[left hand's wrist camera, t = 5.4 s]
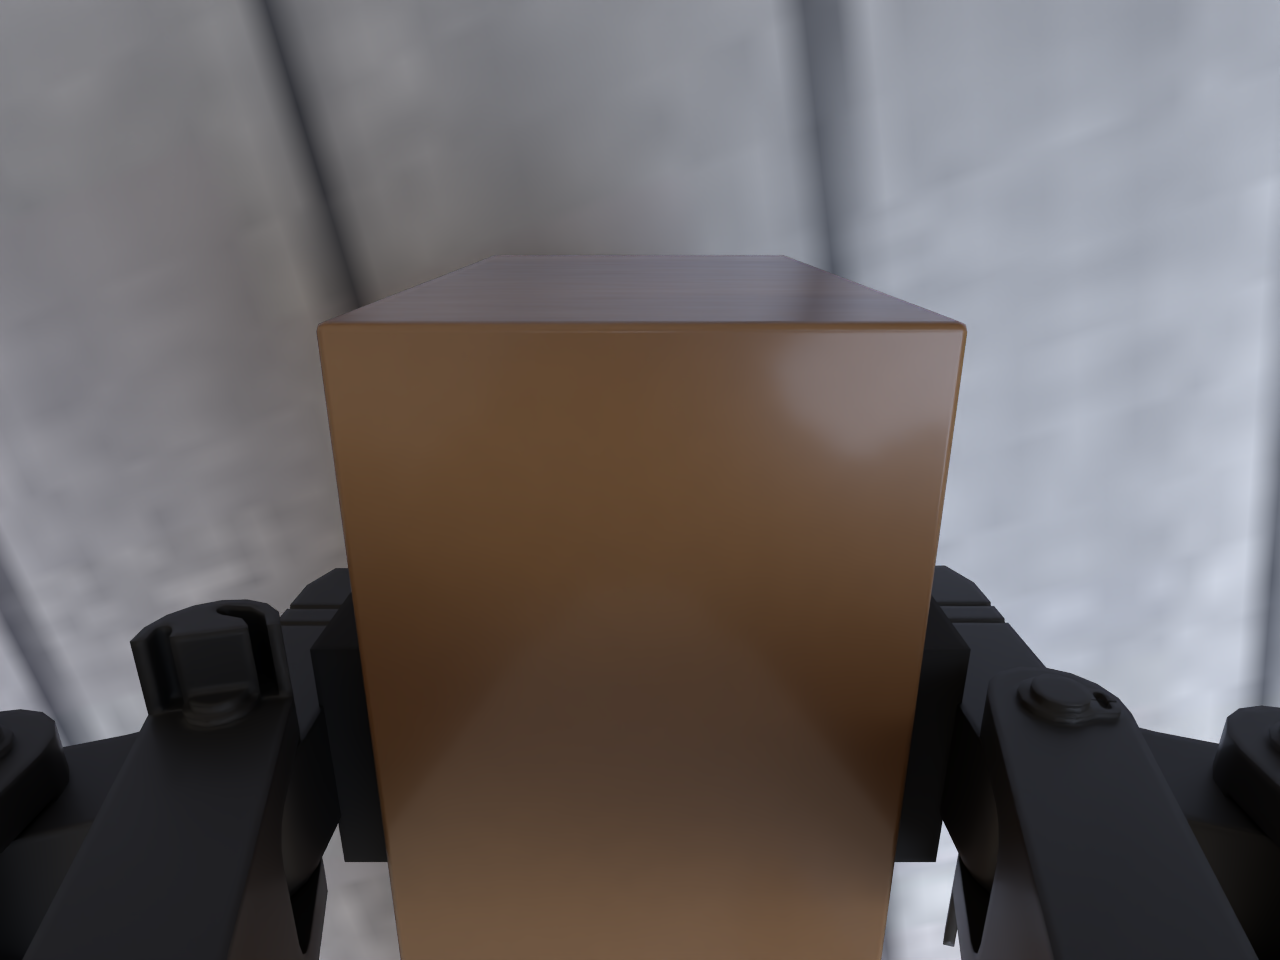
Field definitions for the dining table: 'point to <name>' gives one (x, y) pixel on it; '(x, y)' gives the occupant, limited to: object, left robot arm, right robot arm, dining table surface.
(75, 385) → the dining table surface
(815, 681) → the beam
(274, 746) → the left robot arm
